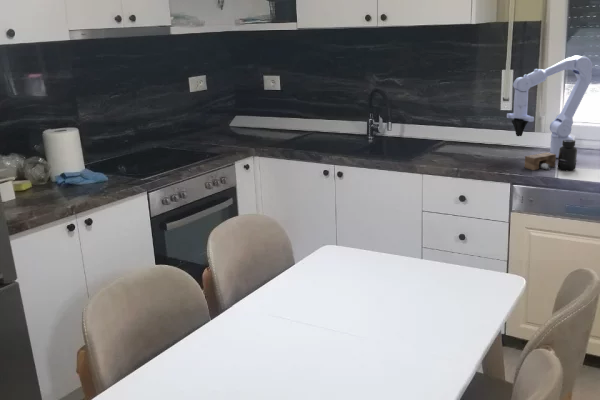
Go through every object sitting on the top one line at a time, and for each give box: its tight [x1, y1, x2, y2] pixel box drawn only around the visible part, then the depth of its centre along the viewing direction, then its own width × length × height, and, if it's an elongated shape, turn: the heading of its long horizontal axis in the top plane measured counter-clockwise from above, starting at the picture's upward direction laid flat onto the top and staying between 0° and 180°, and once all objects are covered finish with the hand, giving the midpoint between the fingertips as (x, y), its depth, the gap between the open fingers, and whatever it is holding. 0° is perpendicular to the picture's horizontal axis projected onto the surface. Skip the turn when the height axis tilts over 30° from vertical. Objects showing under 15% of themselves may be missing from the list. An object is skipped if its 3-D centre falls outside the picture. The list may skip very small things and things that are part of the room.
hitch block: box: [524, 152, 557, 171], centre depth 261 cm, size 12×5×5 cm, turn 115°
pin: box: [539, 162, 551, 171], centre depth 260 cm, size 9×6×3 cm, turn 25°
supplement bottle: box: [557, 139, 578, 172], centre depth 254 cm, size 7×7×12 cm
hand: (519, 135), depth 276 cm, fingers closed
